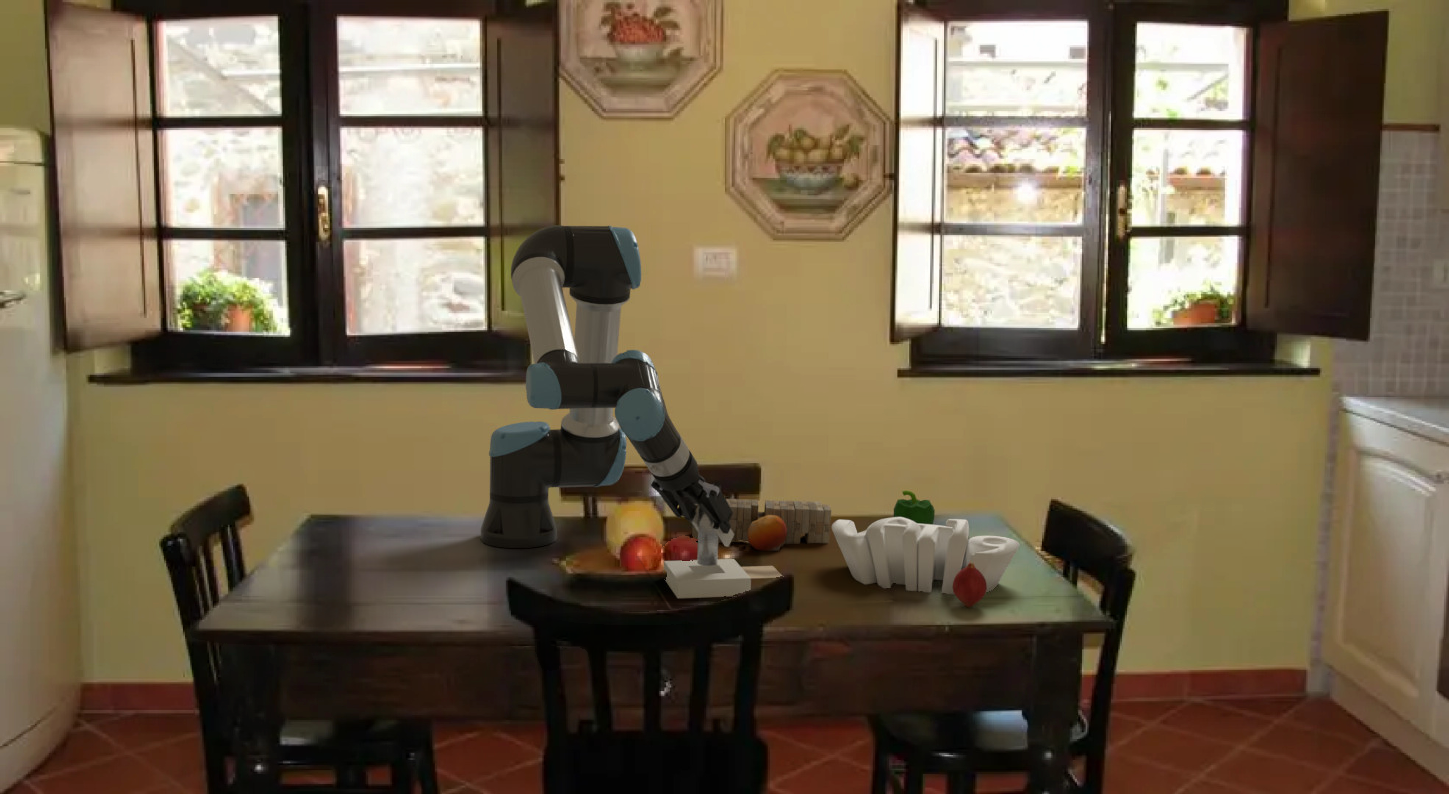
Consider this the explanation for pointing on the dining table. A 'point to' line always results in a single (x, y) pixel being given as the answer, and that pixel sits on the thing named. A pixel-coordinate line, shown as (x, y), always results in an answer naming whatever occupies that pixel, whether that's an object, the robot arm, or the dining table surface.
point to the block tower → (793, 513)
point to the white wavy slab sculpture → (920, 553)
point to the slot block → (706, 578)
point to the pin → (707, 541)
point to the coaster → (761, 572)
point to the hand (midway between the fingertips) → (719, 538)
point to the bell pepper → (914, 509)
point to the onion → (969, 585)
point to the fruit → (767, 533)
